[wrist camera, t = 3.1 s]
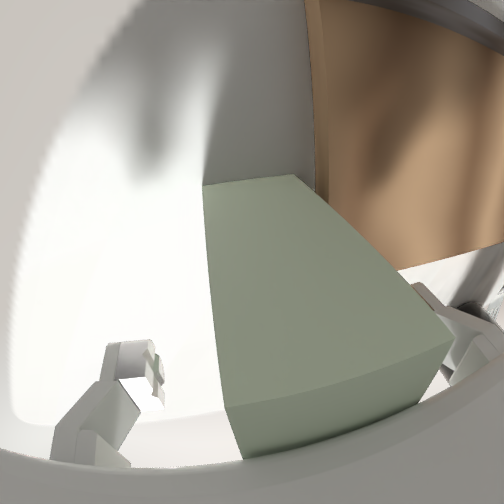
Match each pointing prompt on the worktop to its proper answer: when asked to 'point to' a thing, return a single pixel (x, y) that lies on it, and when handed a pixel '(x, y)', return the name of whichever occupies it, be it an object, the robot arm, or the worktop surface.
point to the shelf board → (410, 123)
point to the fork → (495, 305)
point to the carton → (309, 319)
